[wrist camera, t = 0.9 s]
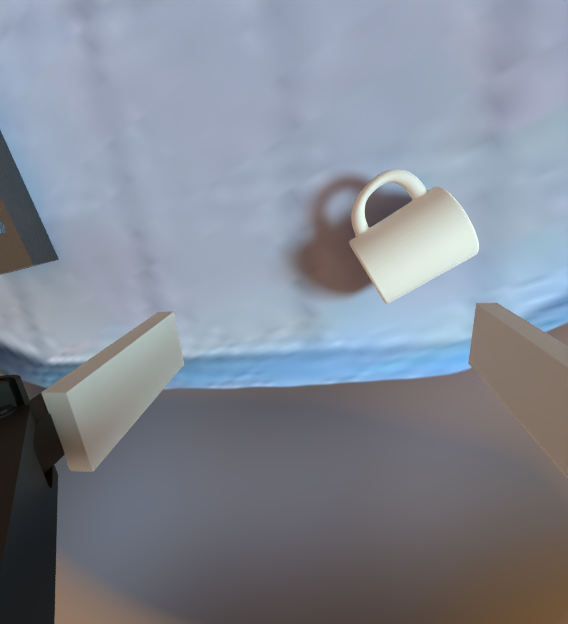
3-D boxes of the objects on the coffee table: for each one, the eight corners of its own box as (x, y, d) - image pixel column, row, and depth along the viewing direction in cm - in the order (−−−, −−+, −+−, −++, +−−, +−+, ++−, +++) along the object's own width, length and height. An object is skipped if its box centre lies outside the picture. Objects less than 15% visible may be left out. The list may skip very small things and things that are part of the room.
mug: (457, 248, 37) (491, 260, 29) (379, 293, 40) (391, 314, 32) (407, 153, 34) (430, 140, 27) (327, 208, 37) (328, 210, 30)
